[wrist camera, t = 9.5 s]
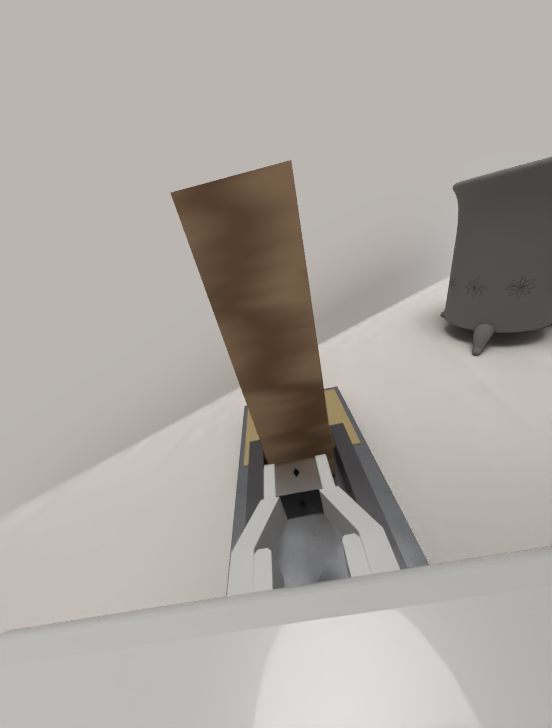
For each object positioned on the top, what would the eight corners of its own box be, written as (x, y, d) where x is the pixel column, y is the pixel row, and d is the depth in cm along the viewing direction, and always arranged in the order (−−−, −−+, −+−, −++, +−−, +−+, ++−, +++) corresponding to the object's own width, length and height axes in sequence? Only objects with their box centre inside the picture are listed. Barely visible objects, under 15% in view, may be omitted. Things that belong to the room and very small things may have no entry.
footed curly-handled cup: (404, 327, 41) (415, 142, 29) (476, 305, 42) (515, 119, 30) (530, 380, 24) (681, -3, 12) (641, 340, 26) (875, -38, 14)
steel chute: (337, 392, 29) (335, 366, 27) (572, 863, 7) (644, 898, 5) (246, 411, 30) (237, 387, 28) (207, 897, 8) (151, 940, 6)
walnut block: (319, 422, 24) (280, 189, 14) (336, 474, 19) (291, 160, 9) (272, 431, 24) (203, 209, 15) (276, 485, 19) (170, 192, 9)
